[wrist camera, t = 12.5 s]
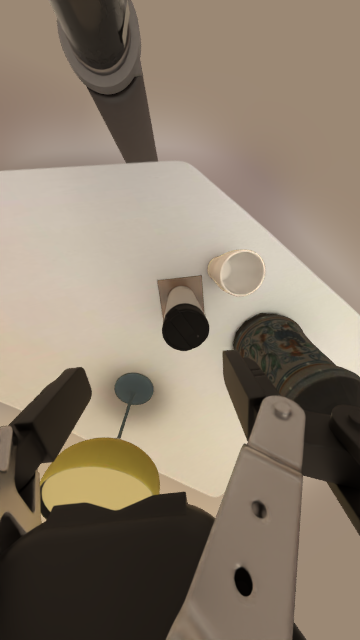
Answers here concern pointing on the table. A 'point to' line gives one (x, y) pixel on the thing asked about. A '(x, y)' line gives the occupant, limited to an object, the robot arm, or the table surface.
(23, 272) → the table surface
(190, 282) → the coaster
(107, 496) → the cocktail glass
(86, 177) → the table surface
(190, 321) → the travel mug
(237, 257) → the drinking glass
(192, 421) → the table surface
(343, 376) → the beer stein
